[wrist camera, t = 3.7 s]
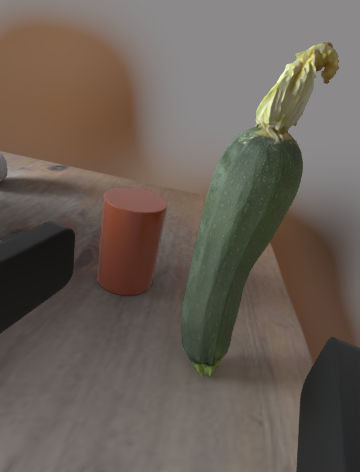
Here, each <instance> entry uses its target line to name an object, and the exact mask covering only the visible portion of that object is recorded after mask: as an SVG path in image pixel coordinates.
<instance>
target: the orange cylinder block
mask: <svg viewBox="0 0 360 472" xmlns="http://www.w3.org/2000/svg"><path fill="white" fill-rule="evenodd" d="M166 211H167V201H166V200H165V199H164V198H163V197H162V196H160V195H158V194H156V193H154V192H151V191H148V190H145V189H140V188H134V187H118V188H113V189H110V190H108V191H106V192H105V194H104V198H103V209H102V220H101V231H100V243H99V254H98V265H97V280H98V282H99V284H100V285H101V286H102V287H103V288H104V289H106V290H108V291H110V292H112V293H115V294H119V295H136V294H140V293H142V292H145V291H146V290H148V289H149V288H150V287H151V285H152V283H153V278H154V273H155V268H156V262H157V257H158V252H159V247H160V242H161V237H162V231H163V226H164V221H165V216H166Z"/></svg>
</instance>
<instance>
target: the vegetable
mask: <svg viewBox="0 0 360 472" xmlns="http://www.w3.org/2000/svg"><path fill="white" fill-rule="evenodd" d="M296 58H297V60H296V61H295V62H294V63H292V64H291V63H290V64H287V65H286V69H285V71H284V73H283V74H282V75H281V76H280V77H279V80H278V82H277V84H276V85H275V86H274V87H273V88H272V89H271V90H270V92H269V94H268V95H266V97H265V98H264V99H263V101H262V102H261V104H260V105H259V107H258V109H257V112H256V118H257V119H256V120H255V121H256V122H257V125H256V126H255V127H253V128H251V129H248V130H246V131H245V132H243V133H241V134H240V135H239V136H238V137H236V138H235V139H234V140H233V141H232V142H231V144H230V145H229V146H228V147H227V149H226V150H225V152H224V153H223V155H222V157H221V159H220V161H219V163H218V165H217V168H216V170H215V173H214V176H213V179H212V181H211V185H210V188H209V191H208V195H207V197H206V201H205V205H204V210H203V214H202V219H201V225H200V229H199V233H198V237H197V240H196V243H195V248H194V253H193V258H192V263H191V268H190V273H189V278H188V282H187V287H186V291H185V295H184V299H183V305H182V316H181V331H182V343H183V347H184V349H185V351H186V353H187V355H188V357H189V359H190V360H191V361H192V362H193V363H194V366H195V368H196V369H197V371H198V373H199V374H200V375H201V376H205V375H206V374H208V376H211V375H213V373H214V372H215V368H216V367H218V365H219V363H220V361H221V358H223V357H224V356H225V354H226V353H227V351H228V348H229V345H230V341H231V336H232V331H233V327H234V324H235V321H236V317H237V313H238V309H239V305H240V301H241V296H242V292H243V288H244V285H245V283H246V280H247V278H248V275H249V273H250V271H251V269H252V267H253V265H254V264H255V262H256V261H257V259H258V258H259V257H260V255H261V254H262V252H263V251H264V250H265V248H266V247H267V245H268V244H269V242H270V241H271V239H272V238H273V236H274V234H275V232H276V230H277V228H278V227H279V225H280V224H281V222H282V220H283V218H284V216H285V215H286V213H287V211H288V209H289V207H290V205H291V204H292V202H293V200H294V198H295V196H296V193H297V191H298V188H299V184H300V181H301V177H302V170H303V161H302V156H301V151H300V149H299V146H298V144H297V142H296V141H295V140H294V139H293V137H292V136H291V135H290V134H289V133H288V129H289V128H290V127H291V126H292V125H295V126H296V124H297V121H298V119H299V118H300V117H301V115H302V114H303V111H304V108H305V106H306V104H307V102H308V100H309V97H310V95H311V93H312V90H313V81H314V78H315V77H316V75H315V72H316V71H319V70H321V69H322V67H325V69H324V71H322V74H321V76H322V77H323V79H324V83H326V84H327V83H329V80H330V79H331V78H332V77H333V76H334V75H335V74H336V71H337V70H338V69H339V67H338V62H339V60H338V54H337V53H336V51H335V50H334V49H333V46H332V44H331V43H330V42H327V43H325V42H324V43H323V44H318V45H316V46H311V48H310V49H308V50H307V51H305V52H300V53H297V54H296Z"/></svg>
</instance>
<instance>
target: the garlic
mask: <svg viewBox="0 0 360 472" xmlns="http://www.w3.org/2000/svg"><path fill="white" fill-rule="evenodd" d="M6 176H7V163H6V160H5V158H4V157H3V155H2V154H0V181H1V180H2V179H4V178H6Z"/></svg>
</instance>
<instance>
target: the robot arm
mask: <svg viewBox="0 0 360 472" xmlns="http://www.w3.org/2000/svg"><path fill="white" fill-rule="evenodd" d="M74 247H75V234H74V231H73V230H72V229H69V228H67V227H64V226H62V225H59V224H57V223H55V222H51V221H50V222H46V223H44V224H42V225H39V226H37V227H35V228H33V229H30V230H26V231H21V232H16V233H12V234H10V235H7V236H5V237H3V238H0V333H2V332H3V331H5V330H6V329H7V328H9V327H10V326H11V325H13V324H14V323H15V322H17V321H18V320H20V319H21V318H22V317H24V316H25V315H26V314H28V313H29V312H31V311H32V310H33V309H35V308H36V307H37V306H39V305H40V304H41V303H43V302H44V301H46V300H47V299H48V298H50V297H51V296H52V295H54V294H55V293H57V292H58V291H59V290H61V289H62V288H63V287H64V286H65V285H66V284H67V283H68V282H69V280H70V278H71V276H72V274H73V267H74ZM296 472H360V348H358V347H356V346H353V345H351V344H349V343H346V342H343V341H341V340H339V339H336V338H334V337H331V338H330V339H329V340H328V341H327V343H326V344H325V346H324V348H323V349H322V351H321V353H320V355H319V356H318V358H317V360H316V361H315V363H314V365H313V367H312V368H311V370H310V372H309V373H308V375H307V377H306V379H305V382H304V385H303V388H302V392H301V398H300V415H299V434H298V452H297V471H296Z"/></svg>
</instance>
